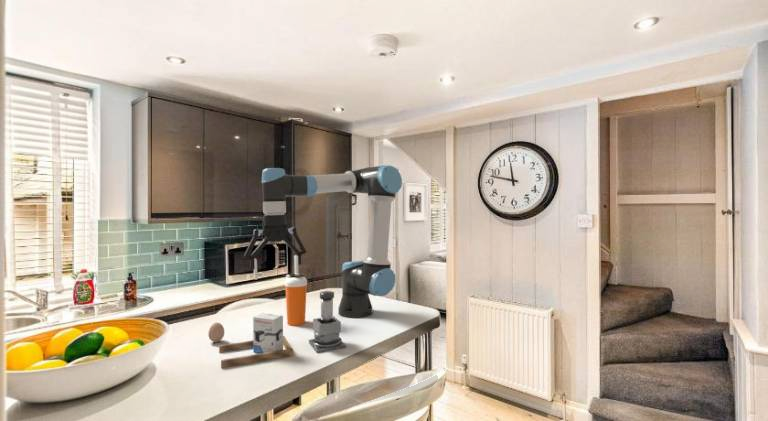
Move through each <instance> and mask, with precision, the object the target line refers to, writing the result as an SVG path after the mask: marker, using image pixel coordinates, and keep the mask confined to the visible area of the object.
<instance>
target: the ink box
mask: <svg viewBox="0 0 768 421" xmlns="http://www.w3.org/2000/svg"><path fill="white" fill-rule="evenodd" d="M252 320H253V322H252V323H253V325H252V326H253V327H252V328H253V335H252V336H253V338H252V339H253V347H252V348H253V353H255V354H261V353H267V352H273V351H279V350H284V346H283V336H284V316H283V315H282V314H275V313H268V312H262V313H260V314H258V315H256V316H255V315H254V316H253V318H252Z"/></svg>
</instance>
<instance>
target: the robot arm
mask: <svg viewBox="0 0 768 421" xmlns="http://www.w3.org/2000/svg"><path fill="white" fill-rule="evenodd" d="M261 185H262V187H261V188H262V212H263V214H264V215H263V216H262V220H263V221H262V222H263V223H262V224H263V228H262V229H253V233H252V235H253V236H252V237H251V239H250V242H249V243H248V246H247V248H246V250H245V252H244V255H243V257H244V258H245V259H248V260H249V267H250V269H251V270H253V279H254V280H258V260H257V258H256V257H257V256H258V255H259V254H260V253H261V251H262V250H263V249H264V247H265V246H266V245H267V244H268V243H269V242H270V243H274V242H284V243H285V244H286V245H287V246H288V247H289V248H290V249H291V250H292V251H293V252H294V253H295V254H296V255H294V256H293V260H294V261H293V263H294V268H293V269H294V273H295V274H296V275H299V274H300V273H299V266H300V265H301V264H302V255H305V254H306V253H307V250H306V248H305V246H304V244H303V243H302V241H301V239H300V237H299V235H298V233H297V228H296V227H295V226H292V227H290V228H288V226H287V215H286V213H287V205H286V204H287V199H286V198H289V197H291V198H292V197H313V196H314V195H317V194H330V193H340V192H346V193H348V194H353V193H354V194H355V193H356V194H367V197H368V199H369V200H370V212H369V213H370V215H369V225H368V226H369V227H368V240H367V256H366V258H365V259H364V260H353V261H346V262H344V263H343V264H342V267H341V268H342V269H341V276H342V277H341V281H342V282H341V284H342V286H341V290H342V291H341V293H342V296H341V300H340V303H339V305H338V311H337V313H338V315H339V316H341V317H346V318H363V317H364V318H365V317H368V316H370V315H373V305H372V302H371V299H370V295H372V296H374V297H377V296H378V297H384V296H387V295H389V293H390V292H391V291H392V290H393V289H394V287H395V284H396V275H395V272H394V271H393V270H392V269H391V264H392V263H391V261H389V259H388V255H389V242H390V228H391V213H392V202H394V200H395V199H396V194H397V193H398V192H400V190H401V188H402V185H403V178H402V175H401V173H400V172H399V169H397V167H395V166H393V165H389V164H388V165H385V164H383V165H377V166H370V167H364V168H360V169H355V170H347V171H345V172H344V173H331V174H313V175H312V174H311V175H309V174H287V173H286V170H285V169H284V168H280V167H268V168H264V169H263V170H262V173H261ZM288 233H289V235H292V237H293V239H294V241H295V243H296V244H297V247H298V248H299V249H298V248H297V247H296V246H295V245H294V244H293V243H292V242H291V241H290V239H289V238H288V237H286V236H287V234H288ZM261 234H262V235H263V236H264V238H263V239H262V240H261V242H260V243H259V244H258V246H257V247H256V248H255V249H254V247H255V244H256V242H257V241H258V238H259V237H260V236H261ZM253 249H254V251H252V250H253Z"/></svg>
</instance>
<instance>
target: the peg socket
mask: <svg viewBox="0 0 768 421" xmlns="http://www.w3.org/2000/svg"><path fill="white" fill-rule="evenodd" d="M312 322H313V323H312V329H313V330H314V331H313V332H314V338H311V339H308V344H309V345H310V346H311V348H312V349H313V350H314V352H315V353H316V354H317V353H323V352H329V351H334V350H335V351H336V350H341V349H346V346H347V345H346V344H345V342H343V340H342V338H341V337H340V333H342V322H341V321H340V320H339V319H338V318H337V317H335V316H334V315H333V322H331V323H324V324H321V317H318V318H313V319H312Z"/></svg>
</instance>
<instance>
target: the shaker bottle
mask: <svg viewBox="0 0 768 421" xmlns="http://www.w3.org/2000/svg"><path fill="white" fill-rule="evenodd" d="M307 286H308V280H307V278H306V277H305V273H299V275H296V274H295V272H292V273H289V274H286V276H285V280H284V287H285V303H286V308H285V309H286V321H287V322H286V323H287V325H289V326H291V327H292V326H293V327H295V326H301V325H305V323H306V313H307V312H306V309H307V308H306V307H307V306H306V305H307Z"/></svg>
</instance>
